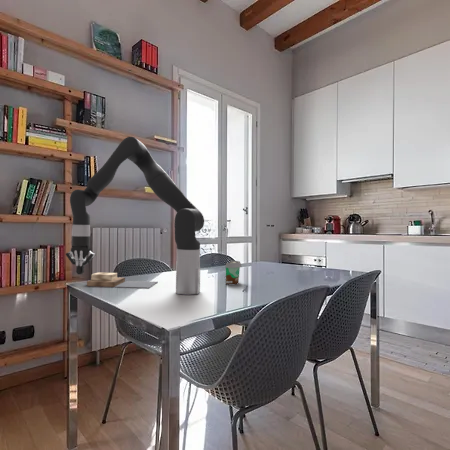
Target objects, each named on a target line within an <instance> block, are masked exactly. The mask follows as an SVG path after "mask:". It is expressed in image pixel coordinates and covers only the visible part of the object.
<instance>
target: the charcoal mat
mask: <svg viewBox="0 0 450 450" xmlns="http://www.w3.org/2000/svg"><path fill="white" fill-rule="evenodd" d="M158 283H159V282H158V281H145V280H125V282H123V283H121V284H119V285H117V286H115V287H114V288H119V289H120V288H121V289H122V288H125V289H151V288H152V287H153V286H155V285H156V284H158Z"/></svg>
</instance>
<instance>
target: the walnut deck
mask: <svg viewBox="0 0 450 450" xmlns="http://www.w3.org/2000/svg"><path fill="white" fill-rule="evenodd" d="M125 281H126V277H120V276H119V277H118V276H117V279H115V280H113V281H102V280H91V279H89V280H87V281H86V287H100V288H101V287H105V288H116V287H115V286H117V285H119V284H121V283H123V282H125Z"/></svg>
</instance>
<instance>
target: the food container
mask: <svg viewBox="0 0 450 450" xmlns="http://www.w3.org/2000/svg"><path fill="white" fill-rule="evenodd" d="M241 267H242V262H241V261H239V260H230V262H226V263H225V285H226V284H235V285H238V284H239V278H240V271H241V270H240V269H241ZM237 283H238V284H237Z"/></svg>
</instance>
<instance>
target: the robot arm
mask: <svg viewBox="0 0 450 450" xmlns="http://www.w3.org/2000/svg"><path fill="white" fill-rule="evenodd" d="M126 160H129V161H131V162H132V163H133V164H135V165H136V166H137V167H138V169H139V170H141V172H142V174H143V175H144V178H145V180H146V183H147V185H148V186H149V188H150V189H151V191H153V193H154V194H155V195H156V197H157V198H159V199H160V200H161V201H163V202H164V203H165V204H166V205H168V206H169V207H170V208H172V209H173V210H174V211H175V212H176V214H175V216H174V217H175V218H174V222H173V223H174V242H175V244H176V262H175V263H176V264H175V266H176V267H175V268H176V270H175V272H176V273H175V275H176V276H175V294H178V295H186V296H187V295H189V296H191V295H198V294H199V293H200V291H201V266H200V265H201V243H200V241H199V240H198V239H197V237H196V232H198V231H201V230H202V229H203V228H204V225H205V217H204V215H203V213H202V212H201V210H200V209H198V207H196V205H194V204H193V203H192V202H191V201H190V200H189V199H188V198H187V197H186V196H185V194H184V193H183V191H181V189H180V188H179V187H178V186H177V184H176V183H175V182H174V180H173V179H172V178H171V177H170V175H169V174H168V173H167V172H166V170H164V169H163V167H161V165H159V164H158V163H157V161H156V160H155V159H154V158H153V156H152V155H151V152H150V151H149V149H148V148H147V146H146V145H145V144H144V143H142V141H140V140H139V139H138V138H137V137H135V136H127V137H125V138H124V139H123V140H121V142H120V143H119V144H118V146H117V147H116V148H115V150H114V151H113V152H112V154H111V155H110V157H108V159H107V160H106V162H104V163H103V165H102V166H101V168H100V169H99V170H97V171H96V172H95V174H94V175H92V176H91V177H90V178H89V179H88V180H87V183H86V185H87V186H86V188H85V189H84V190H83V189H80V188H79V189H74V190H73V191H72V192H71V193H70V196H69V203H70V209H71V213H72V227H71V248H70V250H69V251H68V252H66V253H65V256H66V257H67V258H68V260H69V262H70V263H71V264H72V265H75V267H76V268H75V269H76V270H75V272H76V274H77V275H78V276H79V275H80V276H81V275H83V274H84V273H85V266H86V265H89V263H91V261H92V260H93V259H94V257H95V256H96V253H94V252H92V249H91V247H90V246H91V214H90V213H89V212H88V211H87V207H89V206H91V205H92V204H93V203H94V202H95V201H96V200H97V198H98V197H99V195H100V194H101V192H103V191H104V189H106V188H107V187H108V186H109V185H110V184H111V182H112V181H113V180H114V177H115V175H116V173H117V170H118V169H119V167H120V166H121V164H122V163H124V161H126Z"/></svg>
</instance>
